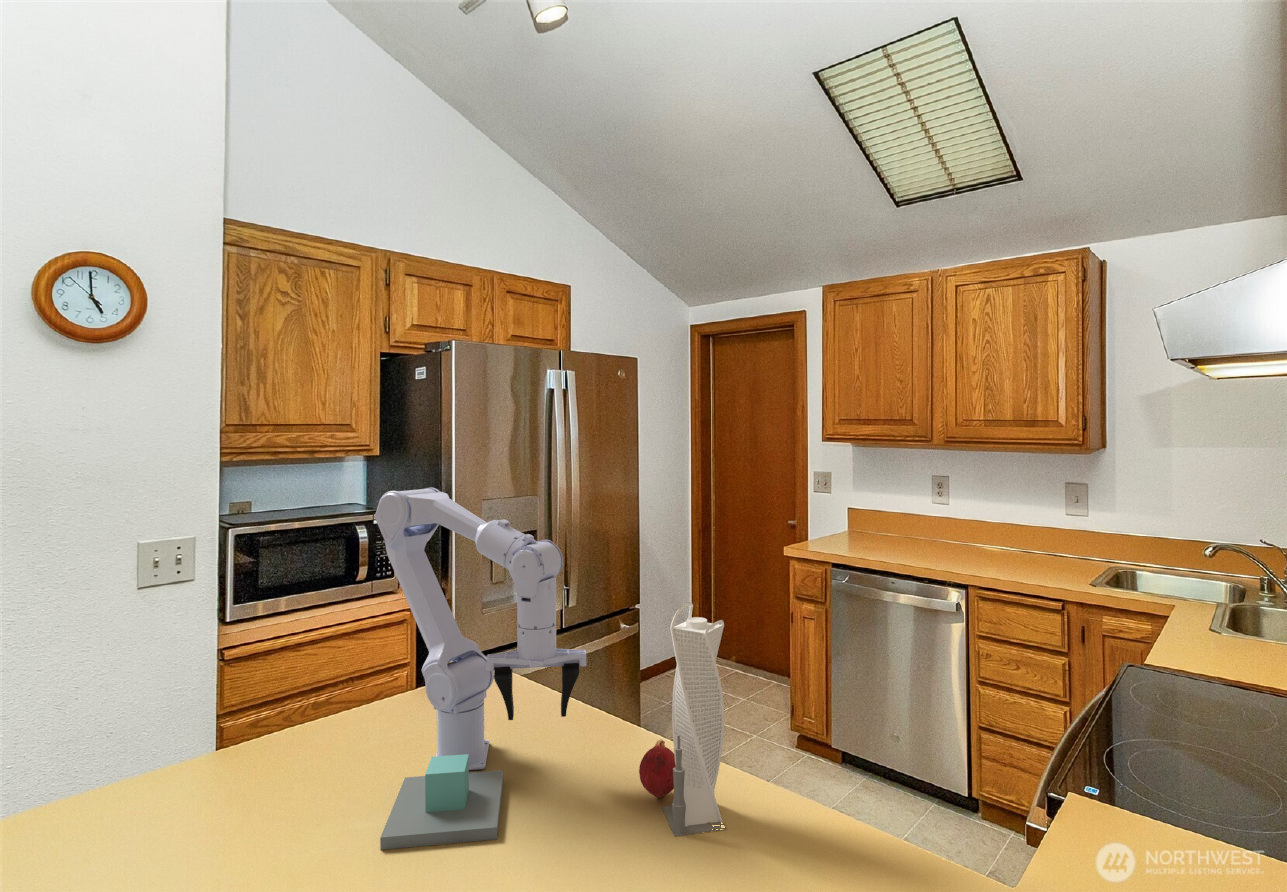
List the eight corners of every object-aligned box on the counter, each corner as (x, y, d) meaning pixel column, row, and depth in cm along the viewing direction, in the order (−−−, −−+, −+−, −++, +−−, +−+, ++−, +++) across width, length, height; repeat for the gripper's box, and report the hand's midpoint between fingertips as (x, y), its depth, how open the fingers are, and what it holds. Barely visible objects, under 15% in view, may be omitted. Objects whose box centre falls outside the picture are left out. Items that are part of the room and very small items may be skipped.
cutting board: (405, 787, 97) (405, 777, 97) (503, 779, 99) (503, 769, 99) (380, 849, 82) (380, 837, 82) (496, 838, 84) (496, 827, 84)
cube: (431, 792, 93) (431, 756, 93) (469, 789, 94) (468, 754, 94) (425, 812, 88) (425, 774, 88) (464, 809, 89) (464, 771, 89)
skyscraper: (659, 803, 93) (658, 602, 93) (715, 797, 95) (714, 599, 95) (674, 838, 85) (673, 617, 85) (735, 830, 87) (734, 614, 86)
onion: (677, 810, 91) (676, 751, 91) (635, 806, 92) (635, 748, 92) (683, 789, 96) (682, 733, 96) (643, 785, 98) (643, 730, 98)
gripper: (484, 634, 94) (485, 730, 94) (587, 629, 97) (588, 723, 97) (488, 621, 101) (488, 710, 101) (584, 616, 104) (585, 704, 104)
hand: (537, 715), depth 99 cm, fingers open, 7 cm apart
